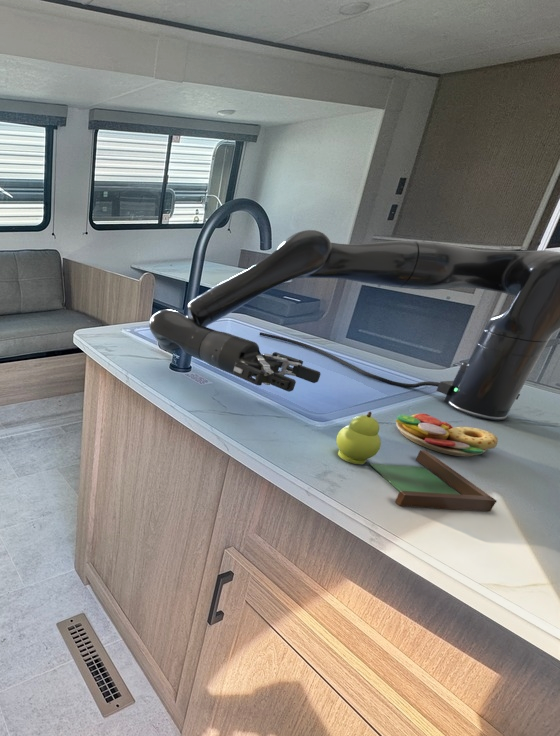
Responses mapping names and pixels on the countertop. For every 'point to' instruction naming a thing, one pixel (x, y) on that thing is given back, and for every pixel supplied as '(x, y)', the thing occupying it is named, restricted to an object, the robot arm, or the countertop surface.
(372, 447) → the pear
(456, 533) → the countertop surface
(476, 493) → the corner fence
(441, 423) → the toy food set
